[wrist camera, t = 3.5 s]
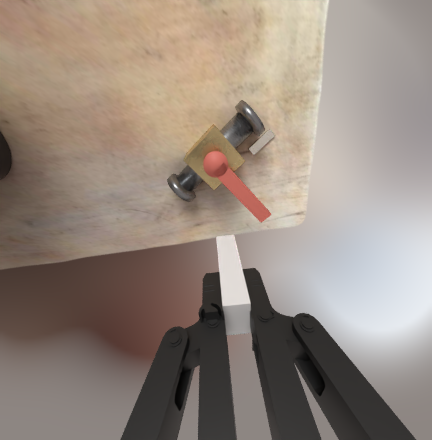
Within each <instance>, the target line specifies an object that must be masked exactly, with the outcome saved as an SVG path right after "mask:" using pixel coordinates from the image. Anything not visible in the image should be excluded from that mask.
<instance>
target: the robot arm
mask: <svg viewBox="0 0 432 440" xmlns="http://www.w3.org/2000/svg"><path fill="white" fill-rule="evenodd" d="M10 166H11V155H10V151H9V148H8V145H7V143H6V141H5V139H4V137H3V135H2V134H1V132H0V180H1V179H2V178H4V177H5V176H6V175H7V173H8V172H9V169H10ZM216 238H217V249H218V261H219V272H216V273H206V275H205V276H204V278H203V300H202V303H203V304H202V306H201V308H200V310H199V317H200V319H199V321H198V322H197V323H195V324H194V325H192V326H190V327H188V328H185V329H184V328H182V327H173V328H171V329H170V330H168V331H167V332H166V333H165V335H164V337H163V339H162V341H161V344H160V346H159V349H158V351H157V353H156V356H155V358H154V360H153V363H152V365H151V368H150V370H149V372H148V375H147V377H146V380H145V382H144V384H143V387H142V389H141V392H140V394H139V397H138V399H137V401H136V404H135V406H134V408H133V411H132V413H131V416H130V418H129V420H128V423H127V425H126V428H125V430H124V433H123V435H122V438H121V440H177V437H178V433H179V430H180V425H181V421H182V417H183V413H184V409H185V405H186V401H187V397H188V393H189V388H190V384H191V380H192V376H193V372H194V368H195V367H197V366H198V365H200V372H199V417H198V440H237V436H236V426H235V416H234V406H233V395H232V385H231V375H230V365H229V355H228V345H227V335H235V334H245V333H250V332H251V333H252V339H253V340H252V344H253V345H252V346H253V348H252V349H253V351H254V353H255V358H256V363H257V368H258V373H259V378H260V382H261V387H262V392H263V397H264V402H265V407H266V412H267V417H268V422H269V427H270V431H271V436H272V440H321V437H320V434H319V432H318V429H317V426H316V423H315V420H314V417H313V415H312V412H311V409H310V406H309V404H308V401H307V398H306V395H305V392H304V389H303V387H302V384H301V381H300V378H299V375H298V373H297V370H296V367H295V365H296V366H297V368H298V370H299V372H300V373H301V375H302V377H303V379H304V380H305V382H306V384H307V385H308V387H309V389H310V391H311V392H312V394H313V396H314V398H315V399H316V401H317V402H318V404H319V406H320V408H321V410H322V411H323V413H324V414H325V416H326V418H327V420H328V422H329V423H330V425H331V427H332V428H333V430H334V432H335V434H336V435H337V437H338V439H339V440H416V439H415V438H414V437H413V435H412V434H411V433H410V432H409V430H408V429H407V428H406V427H405V426H404V425H403V423H402V422H401V421H400V420H399V418H398V417H397V416H396V415H395V413H394V412H393V411H392V410H391V409H390V407H389V406H388V405H387V404H386V403H385V402H384V400H383V399H382V398H381V397H380V395H379V394H378V393H377V392H376V391H375V389H374V388H373V387H372V386H371V384H370V383H369V382H368V381H367V380H366V378H365V377H364V376H363V375H362V374H361V372H360V371H359V370H358V369H357V367H356V366H355V365H354V364H353V363H352V361H351V360H350V359H349V358H348V357H347V356H346V354H345V353H344V352H343V350H342V349H341V348H340V347H339V346H338V344H337V343H336V342H335V341H334V340H333V338H332V337H331V336H330V335H329V334H328V332H327V331H326V330H325V329H324V328H323V326H322V325H321V324H320V323H319V321H318V320H316V319H315V318H314V317H313V316H311V315H309V314H305V313H300V314H297V315H296V316H295V317H290V316H285V315H282V314H280V313H278V312H276V311H275V310H274V309H273V308H272V306H271V304H270V301H269V299H268V296H267V293H266V290H265V287H264V285H263V282H262V279H261V276H260V273H259V272H258V271H257V270H256V269H255V268H250V269H242V266H241V261H240V257H239V253H238V249H237V245H236V241H235V237H234V235H227V236H217V237H216ZM294 363H295V364H294Z"/></svg>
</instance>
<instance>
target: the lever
mask: <svg viewBox="0 0 432 440" xmlns="http://www.w3.org/2000/svg"><path fill="white" fill-rule="evenodd" d="M203 167H204V170H205V172H206V173H207V174H208V175H209V176H211V177H214V178H218V179H219V180H220V181H221V182H222V183H223V184H224V185H225V186H226V187H227V188H228V189H229V190H230V191H231V192H232V193H233V194H234V195H235V196H236V197H237V198H238V199H239V200H240V202H241V203H242V204H243V205H244V206H245V207H246V208H247V209H248V210H249V211H250V212H251V213H252V214H253V215H254V216H255V217H256V218H257V219H258V220H259V221H260V222H263V221H264V220H265V219H266V218H268V217H269V216H270V215H271V213H270V212H269V211H268V209H267V208H266V207H265V206H264V205H263V204H262V203H261V202H260V201H259V200H258V198H257V197H256V196H255V195H254V194H253V193H252V192H251V191H250V190H249V189H248V188H247V186H246V185H245V184H244V183H243V182H242V181H241V180H240V179H239V178H238V177H237V175H236V174H235V173H234V172H233V171H232V170H231V169H230V168H229V167H228V160H227V158H226V157H225V155H224V154H223V153H221V152H219V151H211V152H209V153H208V154H207V155H206V156H205V158H204V161H203Z"/></svg>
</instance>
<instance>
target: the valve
mask: <svg viewBox="0 0 432 440" xmlns="http://www.w3.org/2000/svg"><path fill="white" fill-rule="evenodd" d="M235 108H236V110H237V112H238V113H237V114H236V115H235V116H234V117H233V118H232V119H231V120H230V121H229V122H228V123H227V124H226V126H225V127H224V128H223V129H222V130H221V131H219V130H218V128H217V127H216V126H215V125H214V124H213V125H212V126H211V127H210V128H209V129H208V130H207V131H206V133H205V134H204V135H203V136H202V137H201V138H200V139H199V140H198V141H197V142H196V143H195V144H194V145H193V147H192V148H191V149H190V150H189V151H188V152H187V153H186V156H185V158H184V161H185V162H186V163H187V164H188V165H187V166H186V168H185V169H184V170H183V171H182V172H181V173H180V174H179V175H176V174H172V175H171V176H170V177H169V178H168V179H167V182H168V184H169V186H170V188H171V189H172V190H173V191H174V192H175V193H176V194H177V195H178V196H179V197H180V198H182V199H183V200H185V201H187V202H191V201H192V200H193V199H194V198H195V196H196V195H195V192H194V191H193V190H194V189H195V188H196V187H197V186H198V185H199V184H200V183H201V182H202V181H203V180H204V181H205V182H206V183H207V184H208V185H209V186H210V187H211V188H212V189H213V190H215V189H216V188H217V187H218V186H219V185H220V184H221V183H222V182H221V181H220V180H219V179H218V178H214V177H211V176H209V175H208V174H207V173H206V172H205V170H204V167H203V161H204V158H205V156H206V155H207V154H208V153H209V152H211V151H219V152H221V153H223V154H224V155H225V157H226V158H227V160H228V167H229V168H230V169H231V170H232V171H233V172H234V171H235V170H236V169H237V168H238V167H240V166H241V165H242V164H243V163H244V162H245V160H244V159H243V158H242V157H241V155H240V154H239V153H238V152H237V151H236V150H235V149H236V148H237V147H238V146H239V145H240V144H241V143H242V142H243V141H244V140H245V139H246V138H247V137H248V136H249V135H250V134H251V133H252V132H253V133H255V134H256V135H257V136H260V135H261V134H262V133H263V132H264V131H265V128H264V125H263V123H262V122H261V120H260V119H259V117H258V116H257V114H256V113H255V112H254V111H253V109H252V108H251V107H250V106H249V105H248V104H247V103H246V102H244V101H243V100H241V101H240V102H239V103H238V104H237V105H236V107H235ZM274 136H275V135H274V134H273V132H272V131H271V129H269V130H268V131H267V132H266V133H264V134H263V135H262V136H261V137H260V138H259V139H258V140H257V141H256V142H255V143H254V144H253V145H252V146H251V147H250V148H249V150H250V151H251V152H252V154H253V155H255V154H256V153H257V152H258V151H259V150H260V149H261V148H262V147H263V146H264V145H265V144H267V143H268V142H269V141H270V140H271V139H272V138H273V137H274Z"/></svg>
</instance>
